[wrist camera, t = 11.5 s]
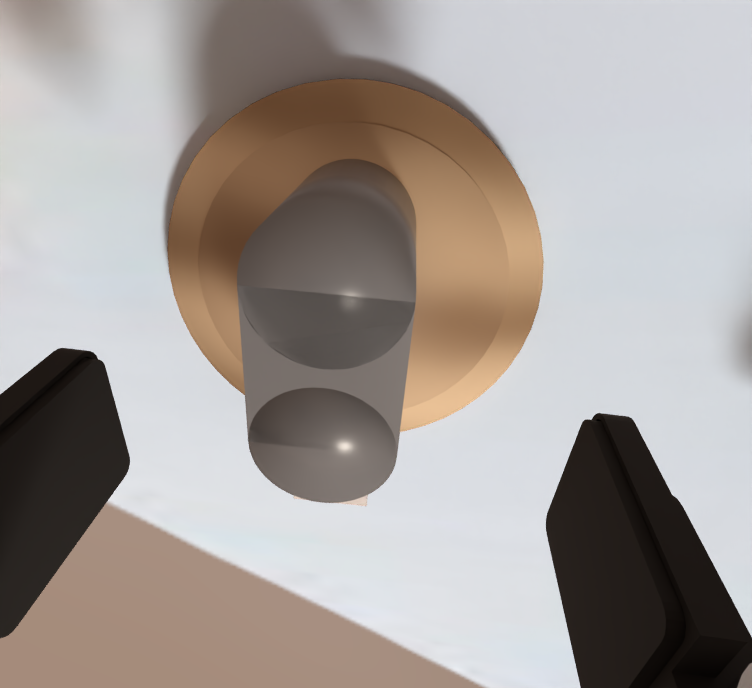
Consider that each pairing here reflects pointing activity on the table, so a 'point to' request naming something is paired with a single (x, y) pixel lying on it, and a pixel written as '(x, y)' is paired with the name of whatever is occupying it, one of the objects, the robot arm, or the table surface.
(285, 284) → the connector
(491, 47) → the table surface
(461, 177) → the coaster
